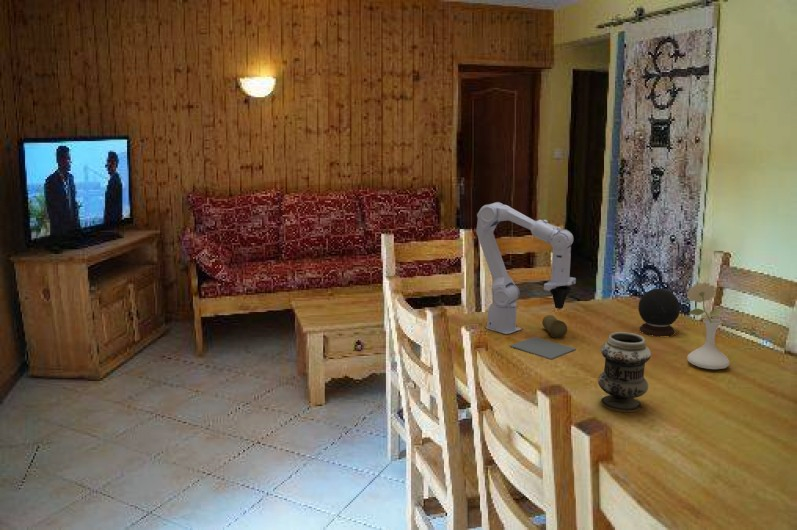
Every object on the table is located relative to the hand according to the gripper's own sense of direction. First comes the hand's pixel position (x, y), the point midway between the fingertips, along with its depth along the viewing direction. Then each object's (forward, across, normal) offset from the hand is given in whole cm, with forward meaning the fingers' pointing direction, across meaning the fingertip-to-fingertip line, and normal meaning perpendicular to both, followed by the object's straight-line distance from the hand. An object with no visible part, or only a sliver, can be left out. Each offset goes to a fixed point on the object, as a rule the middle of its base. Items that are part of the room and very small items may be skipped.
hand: (558, 308), depth 215 cm
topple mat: (+10, -12, -3) cm, 16 cm away
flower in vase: (+11, +12, -43) cm, 46 cm away
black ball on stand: (+11, +32, -18) cm, 38 cm away
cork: (+7, 0, 0) cm, 7 cm away
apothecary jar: (+11, -31, -42) cm, 53 cm away
